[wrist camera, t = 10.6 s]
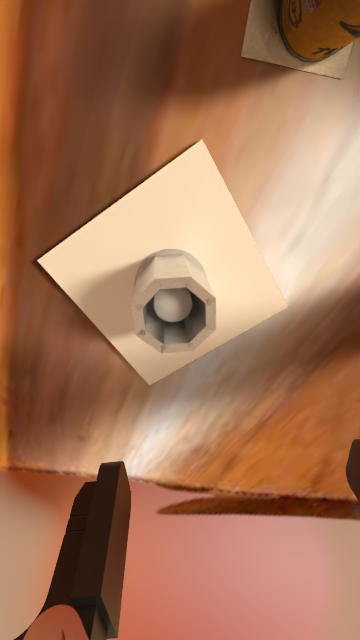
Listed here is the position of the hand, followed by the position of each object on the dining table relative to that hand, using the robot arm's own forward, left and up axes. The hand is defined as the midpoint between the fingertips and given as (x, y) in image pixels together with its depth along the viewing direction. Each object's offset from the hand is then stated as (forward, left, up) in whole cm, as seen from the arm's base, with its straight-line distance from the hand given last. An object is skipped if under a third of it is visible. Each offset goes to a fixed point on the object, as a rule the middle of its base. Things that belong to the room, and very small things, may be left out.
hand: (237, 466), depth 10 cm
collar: (0, +2, -21) cm, 21 cm away
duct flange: (0, +2, -22) cm, 22 cm away
